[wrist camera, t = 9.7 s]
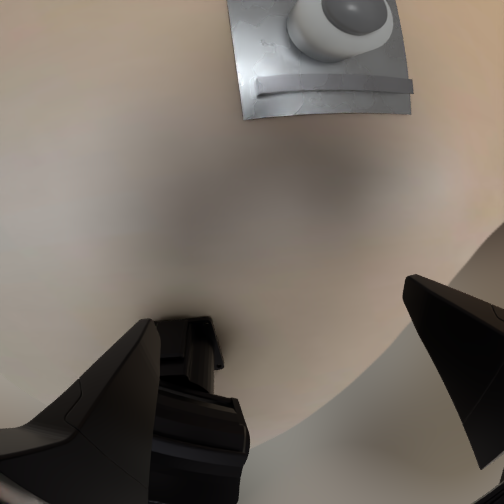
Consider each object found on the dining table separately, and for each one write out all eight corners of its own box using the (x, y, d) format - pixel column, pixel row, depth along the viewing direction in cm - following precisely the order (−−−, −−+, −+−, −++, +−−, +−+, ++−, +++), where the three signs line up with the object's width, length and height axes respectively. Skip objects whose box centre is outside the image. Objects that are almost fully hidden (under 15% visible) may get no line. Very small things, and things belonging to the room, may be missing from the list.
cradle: (406, 114, 17) (426, 116, 15) (243, 120, 17) (245, 120, 15) (384, -25, 12) (399, -35, 10) (221, -34, 12) (220, -50, 9)
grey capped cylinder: (364, 64, 15) (409, 53, 10) (292, 62, 15) (317, 45, 10) (353, 1, 13) (391, -25, 8) (281, -3, 13) (300, -39, 8)
